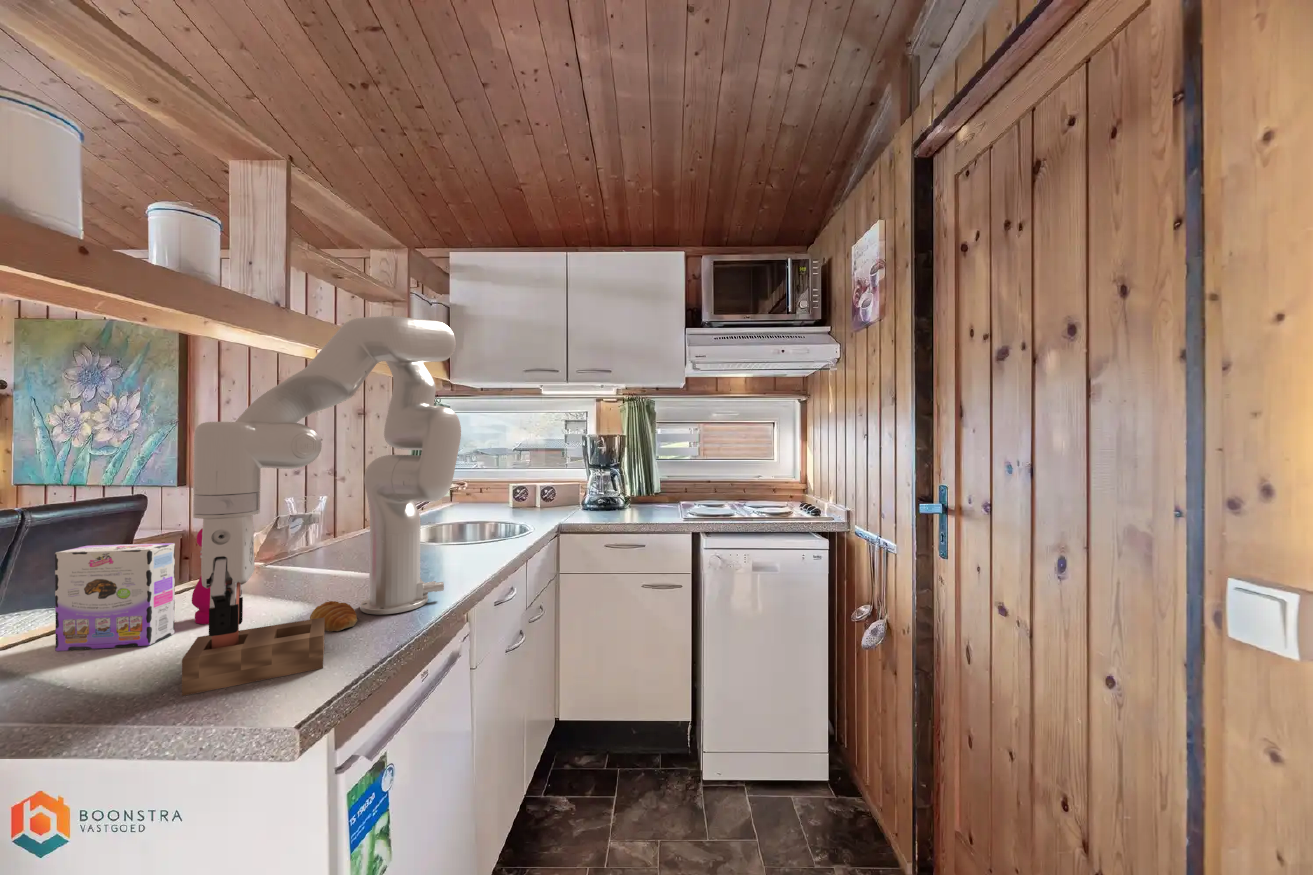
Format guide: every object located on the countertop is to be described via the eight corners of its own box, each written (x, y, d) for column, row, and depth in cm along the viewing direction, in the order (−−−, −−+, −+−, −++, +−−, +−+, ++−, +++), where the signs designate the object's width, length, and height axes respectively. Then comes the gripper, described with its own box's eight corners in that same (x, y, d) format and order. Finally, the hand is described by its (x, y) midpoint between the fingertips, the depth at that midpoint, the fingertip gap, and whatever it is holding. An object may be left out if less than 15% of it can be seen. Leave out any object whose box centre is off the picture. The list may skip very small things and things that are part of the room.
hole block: (324, 647, 84) (324, 617, 84) (322, 668, 77) (323, 635, 77) (197, 669, 76) (197, 636, 76) (181, 696, 68) (182, 659, 68)
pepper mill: (250, 612, 100) (251, 512, 100) (215, 626, 93) (216, 518, 93) (217, 611, 101) (218, 512, 101) (180, 624, 94) (181, 517, 94)
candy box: (176, 633, 90) (177, 541, 90) (148, 647, 84) (149, 548, 84) (86, 637, 87) (87, 543, 88) (51, 652, 82) (52, 551, 82)
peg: (240, 644, 76) (240, 578, 76) (236, 651, 74) (237, 583, 74) (213, 648, 74) (214, 581, 75) (209, 656, 72) (210, 586, 72)
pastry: (367, 625, 95) (367, 605, 95) (328, 637, 89) (328, 616, 89) (343, 615, 100) (343, 596, 100) (304, 626, 94) (305, 605, 94)
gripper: (251, 510, 69) (250, 643, 69) (266, 498, 83) (265, 609, 83) (178, 514, 65) (176, 655, 65) (206, 500, 79) (205, 617, 79)
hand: (226, 628), depth 74 cm, fingers closed on peg, 3 cm apart
